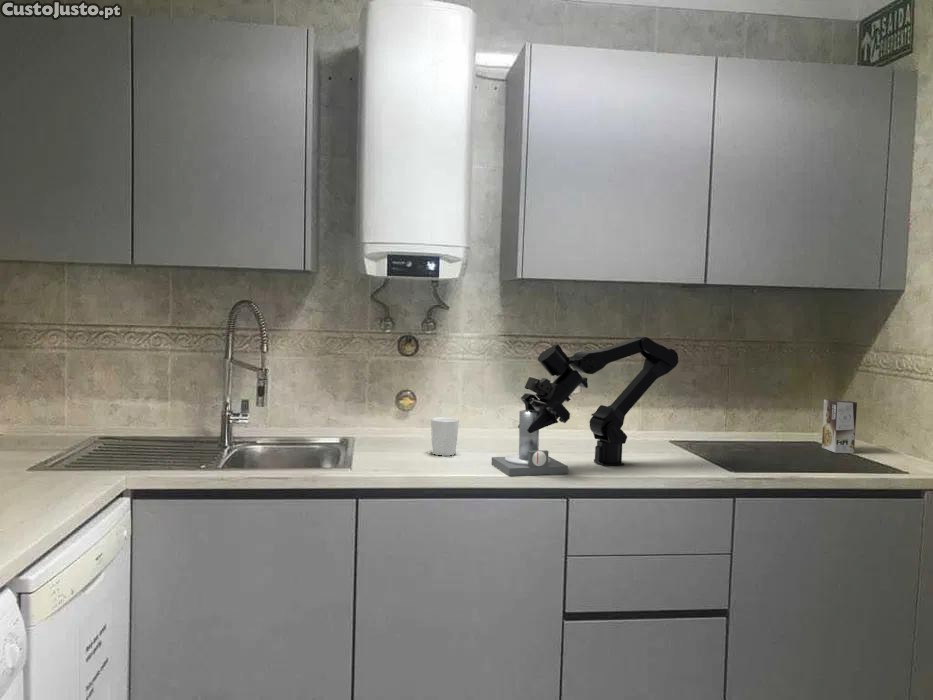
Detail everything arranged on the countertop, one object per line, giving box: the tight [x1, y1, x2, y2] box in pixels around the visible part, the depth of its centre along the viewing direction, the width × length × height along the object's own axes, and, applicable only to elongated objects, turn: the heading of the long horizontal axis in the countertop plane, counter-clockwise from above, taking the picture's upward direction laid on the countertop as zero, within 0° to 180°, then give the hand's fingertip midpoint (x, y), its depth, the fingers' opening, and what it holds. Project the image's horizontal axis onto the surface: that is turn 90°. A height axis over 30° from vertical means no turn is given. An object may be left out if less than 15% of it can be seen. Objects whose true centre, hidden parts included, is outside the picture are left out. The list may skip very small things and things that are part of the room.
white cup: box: [430, 416, 460, 457], centre depth 209 cm, size 8×8×10 cm
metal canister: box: [518, 409, 540, 460], centre depth 193 cm, size 5×5×13 cm
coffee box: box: [821, 398, 858, 454], centre depth 232 cm, size 9×6×16 cm
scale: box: [491, 449, 569, 477], centre depth 192 cm, size 16×14×6 cm
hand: (523, 430), depth 192 cm, fingers closed on metal canister, 5 cm apart
